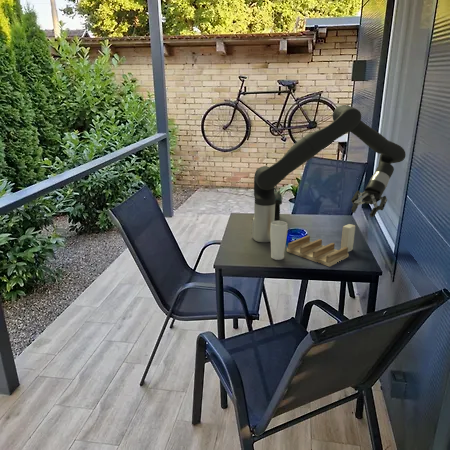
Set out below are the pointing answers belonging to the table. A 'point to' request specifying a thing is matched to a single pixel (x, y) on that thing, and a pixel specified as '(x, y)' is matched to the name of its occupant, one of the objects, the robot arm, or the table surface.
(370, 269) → the table surface
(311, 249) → the ridged wooden tray
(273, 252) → the drinking glass
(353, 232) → the cream rectangular block
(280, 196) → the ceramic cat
